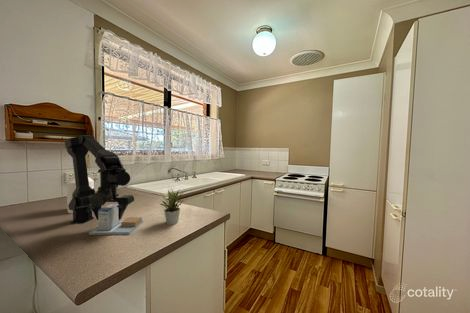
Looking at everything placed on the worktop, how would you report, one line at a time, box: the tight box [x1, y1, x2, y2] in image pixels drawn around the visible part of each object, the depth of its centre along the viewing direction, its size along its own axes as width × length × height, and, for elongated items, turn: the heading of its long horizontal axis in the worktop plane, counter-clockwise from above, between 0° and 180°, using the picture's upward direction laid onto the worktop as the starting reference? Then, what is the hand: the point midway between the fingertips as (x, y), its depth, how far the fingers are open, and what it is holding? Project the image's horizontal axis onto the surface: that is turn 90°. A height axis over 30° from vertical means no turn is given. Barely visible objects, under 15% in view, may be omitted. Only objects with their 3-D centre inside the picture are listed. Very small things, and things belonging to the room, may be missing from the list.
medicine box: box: [97, 203, 121, 230], centre depth 80 cm, size 8×4×9 cm, turn 2°
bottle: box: [65, 174, 95, 214], centre depth 104 cm, size 12×12×25 cm
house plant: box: [157, 188, 188, 226], centre depth 88 cm, size 14×14×16 cm
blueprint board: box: [88, 216, 144, 236], centre depth 81 cm, size 16×12×3 cm
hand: (109, 219), depth 80 cm, fingers open, 9 cm apart
